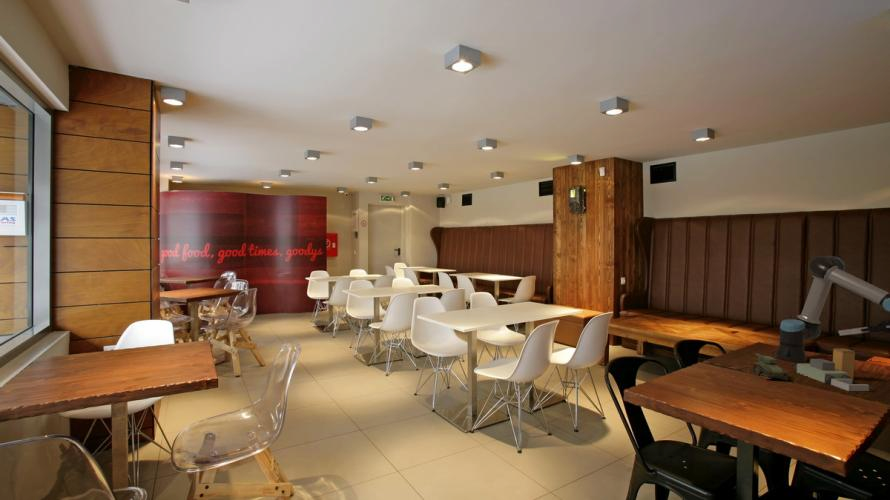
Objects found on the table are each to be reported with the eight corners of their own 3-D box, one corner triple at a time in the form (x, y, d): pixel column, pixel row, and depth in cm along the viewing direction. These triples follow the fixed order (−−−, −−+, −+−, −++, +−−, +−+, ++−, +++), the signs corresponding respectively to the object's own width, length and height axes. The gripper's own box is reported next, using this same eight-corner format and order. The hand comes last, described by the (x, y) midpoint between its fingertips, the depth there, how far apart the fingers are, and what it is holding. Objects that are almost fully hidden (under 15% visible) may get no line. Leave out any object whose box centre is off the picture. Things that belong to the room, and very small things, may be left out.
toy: (765, 370, 240) (766, 352, 240) (788, 381, 222) (789, 362, 221) (746, 369, 241) (747, 351, 241) (767, 380, 223) (768, 361, 222)
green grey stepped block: (793, 371, 239) (794, 355, 239) (815, 371, 240) (816, 355, 240) (846, 391, 210) (848, 372, 210) (871, 391, 211) (872, 372, 211)
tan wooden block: (831, 376, 233) (833, 348, 232) (843, 376, 234) (845, 348, 233) (840, 379, 228) (842, 351, 227) (853, 379, 229) (855, 351, 228)
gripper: (913, 331, 215) (862, 338, 220) (882, 334, 238) (836, 340, 243) (906, 316, 217) (856, 323, 223) (876, 320, 240) (831, 327, 246)
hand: (845, 332), depth 233 cm, fingers open, 13 cm apart
